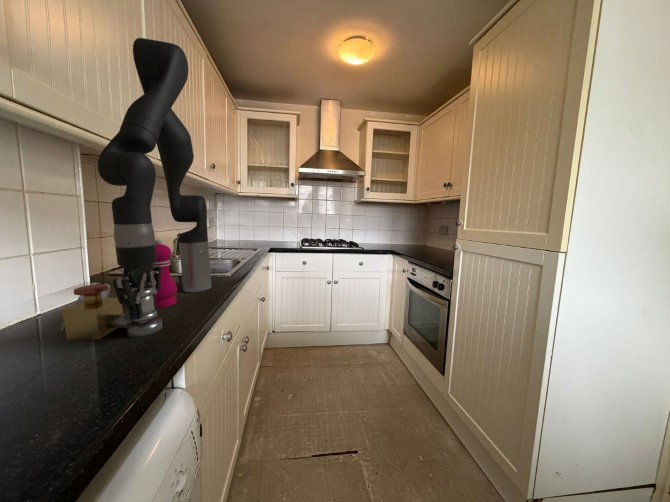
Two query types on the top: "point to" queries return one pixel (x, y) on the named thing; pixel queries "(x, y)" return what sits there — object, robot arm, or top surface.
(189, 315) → the top surface
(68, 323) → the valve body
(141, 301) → the door knob
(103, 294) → the hinge
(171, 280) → the pepper mill
